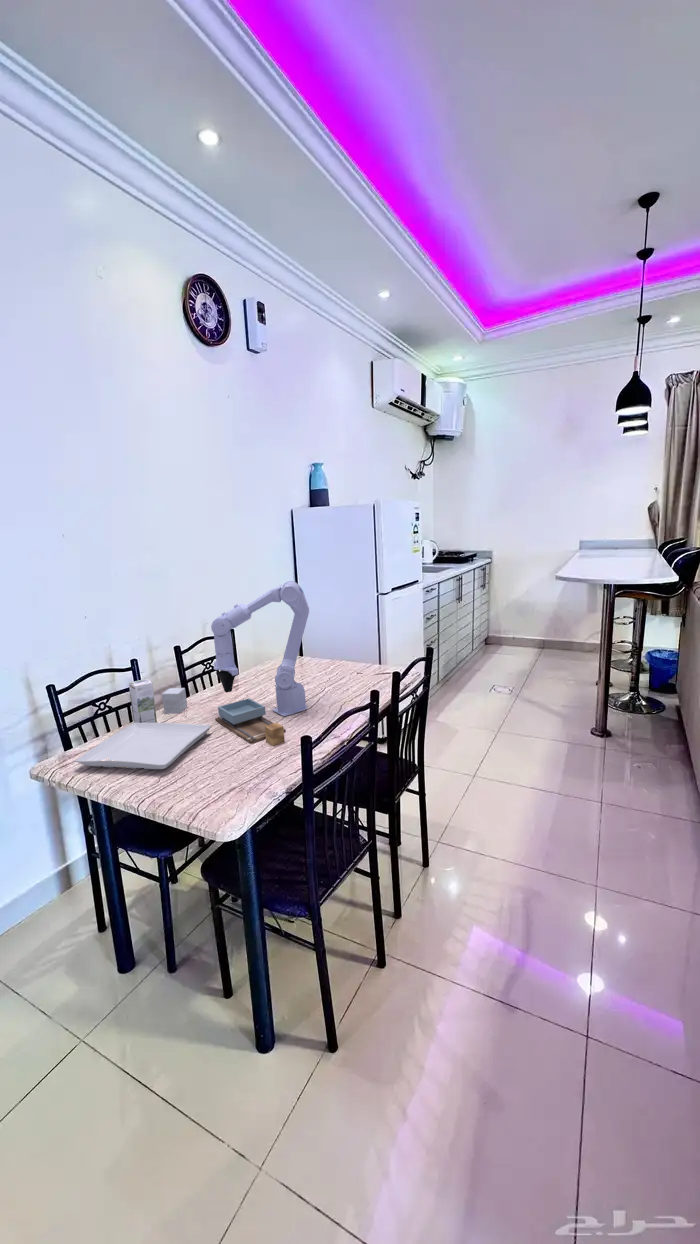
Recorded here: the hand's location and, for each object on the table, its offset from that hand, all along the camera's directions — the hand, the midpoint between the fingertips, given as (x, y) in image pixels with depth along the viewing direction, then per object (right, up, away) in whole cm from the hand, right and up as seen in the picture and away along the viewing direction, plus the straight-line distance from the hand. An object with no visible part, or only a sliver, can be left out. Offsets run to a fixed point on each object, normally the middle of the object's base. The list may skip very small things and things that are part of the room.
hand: (228, 691), depth 171 cm
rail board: (+9, -10, -9) cm, 16 cm away
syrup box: (-27, -11, -2) cm, 29 cm away
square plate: (-17, -15, -23) cm, 33 cm away
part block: (+19, -12, -22) cm, 31 cm away
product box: (-21, -8, +9) cm, 24 cm away
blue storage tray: (+6, -8, -6) cm, 11 cm away
